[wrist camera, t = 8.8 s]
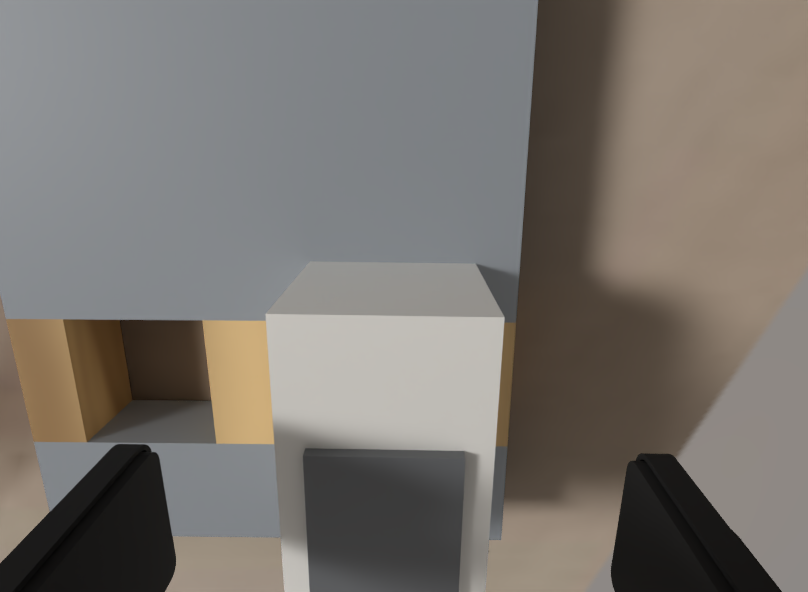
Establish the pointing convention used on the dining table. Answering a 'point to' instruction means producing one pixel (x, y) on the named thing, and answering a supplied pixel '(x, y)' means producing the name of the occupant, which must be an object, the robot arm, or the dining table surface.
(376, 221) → the subfloor panel
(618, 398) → the dining table surface
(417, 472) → the white rectangular block
